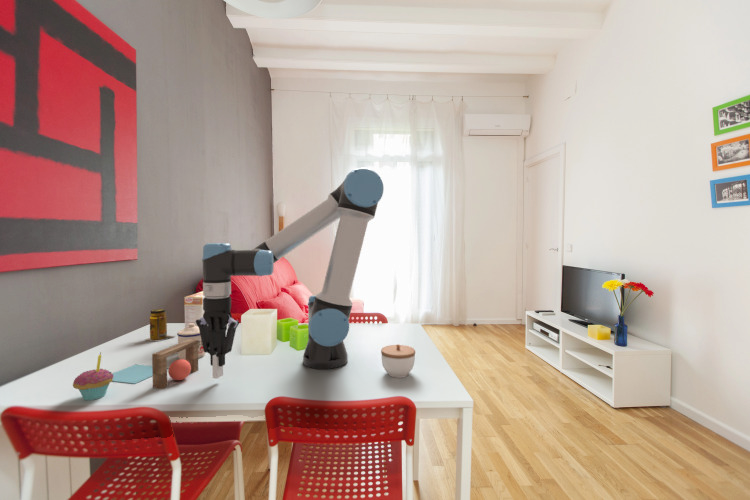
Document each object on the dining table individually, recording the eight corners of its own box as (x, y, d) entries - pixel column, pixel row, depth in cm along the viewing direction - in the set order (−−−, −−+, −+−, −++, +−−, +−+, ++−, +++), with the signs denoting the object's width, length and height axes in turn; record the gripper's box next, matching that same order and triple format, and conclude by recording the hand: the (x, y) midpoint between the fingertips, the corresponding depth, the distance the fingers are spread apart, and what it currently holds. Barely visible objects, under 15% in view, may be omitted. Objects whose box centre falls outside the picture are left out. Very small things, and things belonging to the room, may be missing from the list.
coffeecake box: (203, 336, 158) (203, 290, 157) (220, 336, 158) (219, 290, 157) (184, 347, 143) (183, 296, 142) (202, 347, 143) (201, 296, 142)
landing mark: (169, 368, 120) (169, 367, 120) (135, 384, 108) (135, 383, 108) (135, 364, 123) (135, 364, 123) (98, 379, 111) (98, 379, 111)
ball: (180, 377, 115) (197, 374, 113) (165, 384, 109) (183, 381, 108) (176, 358, 115) (193, 355, 114) (161, 364, 109) (179, 361, 108)
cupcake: (120, 390, 104) (119, 347, 103) (99, 403, 95) (98, 357, 95) (89, 390, 103) (88, 347, 103) (64, 404, 95) (63, 357, 94)
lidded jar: (375, 370, 121) (376, 341, 120) (405, 366, 124) (406, 338, 124) (388, 382, 111) (389, 351, 110) (420, 378, 114) (421, 347, 114)
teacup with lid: (197, 361, 128) (196, 327, 127) (171, 360, 128) (171, 326, 128) (214, 350, 139) (214, 319, 139) (191, 349, 140) (191, 318, 140)
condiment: (145, 339, 153) (144, 310, 152) (165, 334, 160) (164, 307, 160) (156, 342, 149) (155, 312, 149) (176, 337, 157) (175, 308, 156)
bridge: (198, 370, 119) (198, 340, 119) (161, 388, 105) (161, 354, 104) (190, 369, 120) (189, 339, 119) (152, 387, 105) (152, 353, 105)
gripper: (188, 297, 106) (189, 379, 107) (229, 299, 103) (230, 383, 104) (206, 293, 113) (206, 370, 114) (244, 295, 110) (245, 373, 111)
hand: (217, 376), depth 109 cm, fingers closed
